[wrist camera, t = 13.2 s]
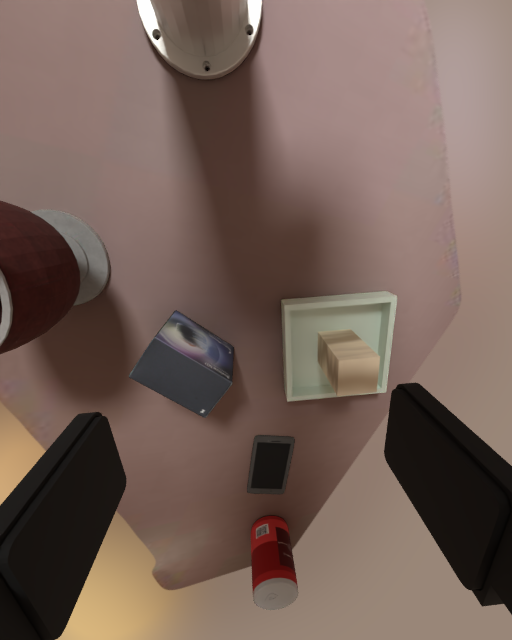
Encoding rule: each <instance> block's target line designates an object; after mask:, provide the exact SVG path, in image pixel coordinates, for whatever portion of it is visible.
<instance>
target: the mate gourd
mask: <svg viewBox="0 0 512 640" xmlns="http://www.w3.org/2000/svg"><path fill="white" fill-rule="evenodd" d="M109 273H110V261H109V257H108V253H107V250H106V248H105V246H104V243H103V242H102V240H101V239H100V237H99V236H98V234H97V233H96V232H95V231H94V230H93V229H92V228H91V227H90V226H89V225H88V224H86V223H85V222H84V221H82V220H81V219H79V218H77V217H75V216H74V215H71V214H68V213H66V212H63V211H57V210H37V211H33V212H30V211H28V210H25V209H23V208H20V207H18V206H15V205H12V204H9V203H6V202H3V201H0V354H2V353H5V352H7V351H10V350H13V349H16V348H18V347H20V346H22V345H24V344H26V343H28V342H30V341H31V340H33V339H35V338H37V337H38V336H40V335H42V334H44V333H45V332H47V331H48V330H49V329H50V328H51V327H53V326H54V325H55V324H56V323H57V322H58V321H60V320H61V319H62V318H63V317H64V316H65V315H66V314H67V312H68V311H69V310H70V309H71V307H72V306H73V305H79V304H83V303H86V302H88V301H90V300H92V299H94V298H95V297H96V296H97V295H99V294H100V293H101V292H102V290H103V289H104V288H105V286H106V284H107V281H108V279H109Z"/></svg>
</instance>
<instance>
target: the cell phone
mask: <svg viewBox="0 0 512 640" xmlns="http://www.w3.org/2000/svg"><path fill="white" fill-rule="evenodd" d="M294 442H295V440H294V438H293V437H289V436H268V435H257V436H255V438H254V443H253V450H252V457H251V464H250V471H249V479H248V486H247V492H248V493H253V494H283V493H284V491H285V487H286V482H287V477H288V473H289V468H290V463H291V458H292V453H293V448H294Z"/></svg>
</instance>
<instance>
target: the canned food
mask: <svg viewBox="0 0 512 640" xmlns="http://www.w3.org/2000/svg"><path fill="white" fill-rule="evenodd" d="M251 557H252V584H253V585H252V586H253V599H254V602H255V604H256V605H257V606H259V607H261V608H263V609H268V610H275V609H281V608H284V607H286V606H288V605H290V604H291V603H293V602H294V601H295V600H296V598H297V596H298V586H297V579H296V573H295V568H294V561H293V555H292V548H291V542H290V536H289V530H288V526H287V524H286V522H285V521H284V520H283V519H282V518H280V517H278V516H265V517H262V518H260V519H258V520H257V521H256V522H255V523H254V524H253V526H252V530H251Z"/></svg>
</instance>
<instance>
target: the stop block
mask: <svg viewBox="0 0 512 640" xmlns="http://www.w3.org/2000/svg"><path fill="white" fill-rule="evenodd" d="M318 363H319V365H320V367H321V368H322V370H323V372H324V374H325V375H326V377H327V379H328V381H329V382H330V384H331V386H332V388H333V389H334V391H335V393H336V395H337V396H344V395H354V394H365V393H375V392H377V383H378V374H379V364H380V356H379V355H378V354H377V353H376V352H374V351H373V350H372V349H371V348H370V347H369V346H368V345H367V344H366V343H365V342H364V341H363V340H362V339H361V338H360V337H359V336H358V335H357V334H355V333H354V332H353V331H352V330H351V329H344V330H333V331H321V332H318Z"/></svg>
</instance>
